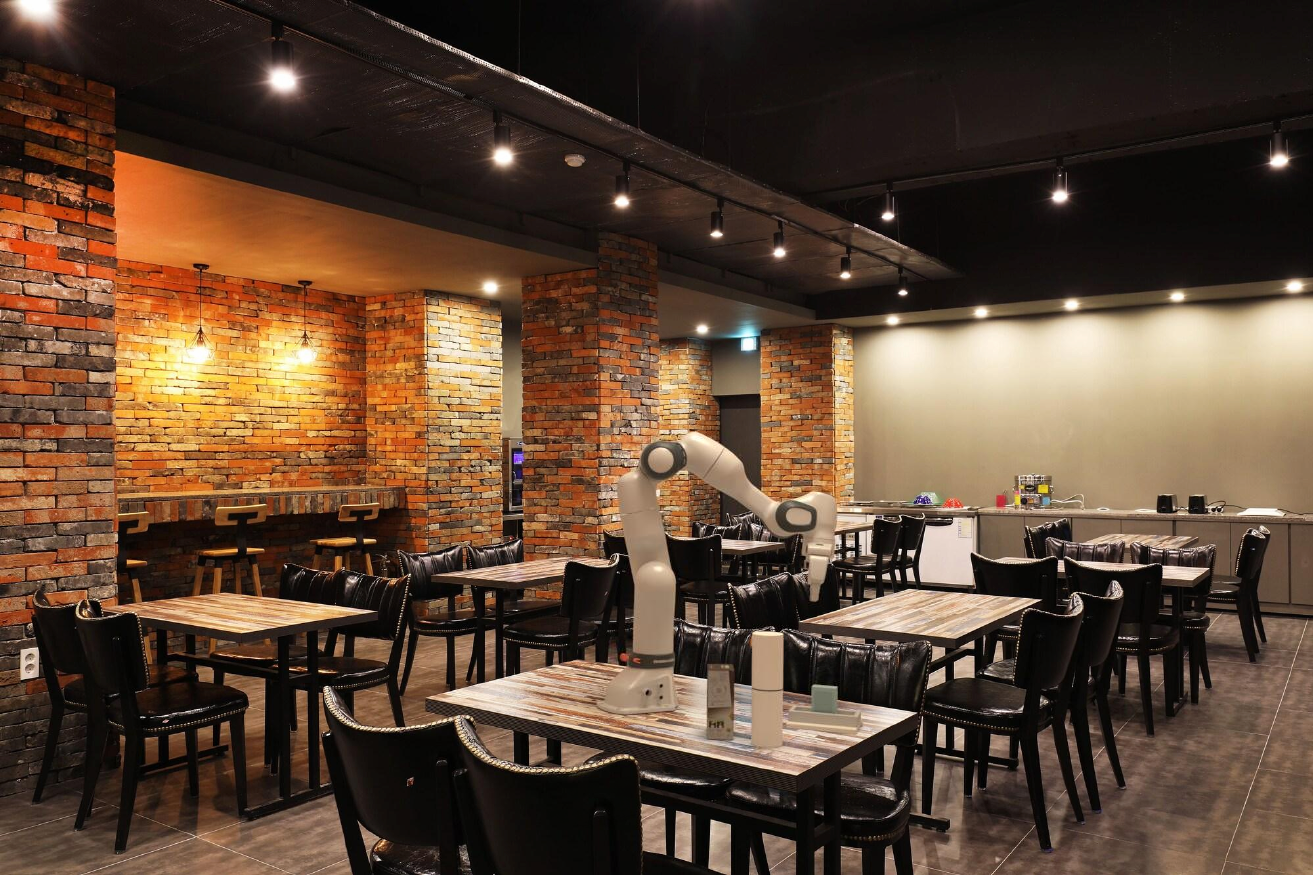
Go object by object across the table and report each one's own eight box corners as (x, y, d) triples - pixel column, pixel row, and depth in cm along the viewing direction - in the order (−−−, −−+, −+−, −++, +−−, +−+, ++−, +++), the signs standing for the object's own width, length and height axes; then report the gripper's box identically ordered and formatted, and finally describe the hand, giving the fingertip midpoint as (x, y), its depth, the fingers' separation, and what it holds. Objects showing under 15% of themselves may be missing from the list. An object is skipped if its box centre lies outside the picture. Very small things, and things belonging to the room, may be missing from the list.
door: (835, 723, 234) (835, 688, 234) (811, 721, 236) (811, 686, 236) (837, 720, 237) (837, 686, 237) (813, 718, 239) (813, 684, 239)
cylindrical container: (747, 745, 215) (748, 634, 216) (755, 738, 221) (756, 630, 223) (778, 749, 212) (779, 636, 214) (785, 741, 219) (786, 632, 220)
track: (855, 734, 227) (855, 719, 227) (785, 727, 233) (785, 713, 233) (862, 722, 239) (862, 708, 240) (795, 716, 245) (795, 703, 245)
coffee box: (734, 740, 219) (735, 670, 220) (706, 739, 220) (707, 669, 221) (732, 730, 228) (733, 663, 230) (705, 730, 229) (706, 663, 230)
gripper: (805, 551, 271) (801, 600, 269) (808, 546, 251) (803, 598, 249) (827, 554, 270) (823, 603, 268) (832, 549, 251) (827, 601, 248)
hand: (813, 600), depth 258 cm, fingers open, 8 cm apart
